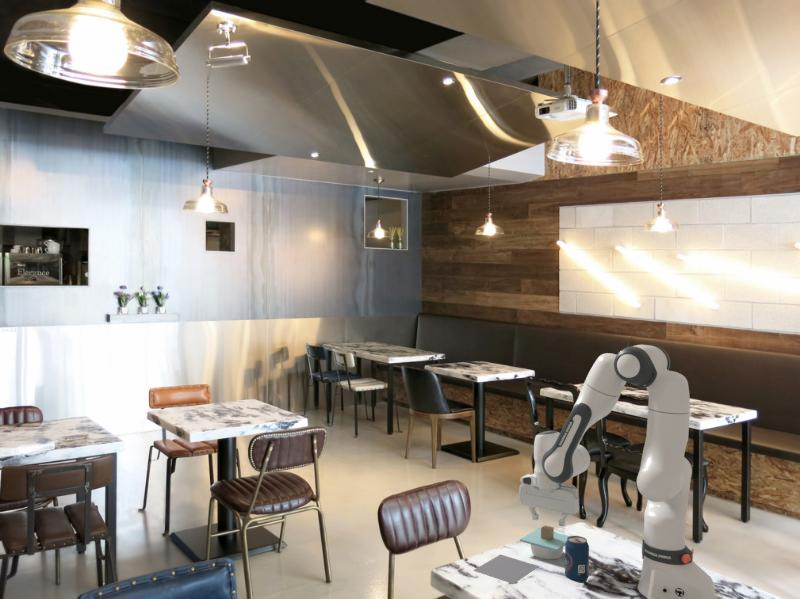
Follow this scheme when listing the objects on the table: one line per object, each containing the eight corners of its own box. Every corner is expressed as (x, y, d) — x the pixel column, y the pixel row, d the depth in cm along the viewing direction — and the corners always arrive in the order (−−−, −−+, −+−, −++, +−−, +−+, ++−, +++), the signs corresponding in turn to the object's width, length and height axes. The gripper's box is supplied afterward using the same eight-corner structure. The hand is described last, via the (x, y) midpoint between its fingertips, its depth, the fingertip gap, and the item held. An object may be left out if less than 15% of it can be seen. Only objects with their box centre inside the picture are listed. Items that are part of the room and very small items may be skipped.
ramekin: (529, 547, 219) (529, 532, 219) (563, 550, 216) (563, 534, 216) (529, 561, 208) (529, 545, 208) (565, 564, 205) (565, 547, 205)
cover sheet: (574, 539, 213) (574, 526, 213) (556, 551, 203) (556, 538, 203) (538, 529, 221) (538, 517, 221) (519, 541, 211) (520, 528, 211)
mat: (539, 568, 202) (539, 566, 202) (513, 586, 189) (513, 583, 189) (500, 556, 211) (500, 554, 211) (473, 572, 198) (473, 570, 198)
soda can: (561, 574, 198) (561, 535, 198) (583, 573, 199) (583, 534, 198) (570, 584, 191) (570, 544, 191) (592, 583, 192) (592, 543, 192)
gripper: (582, 483, 207) (582, 526, 207) (525, 473, 220) (525, 513, 220) (573, 487, 202) (574, 532, 202) (516, 477, 216) (516, 518, 215)
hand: (548, 522), depth 211 cm, fingers open, 8 cm apart
